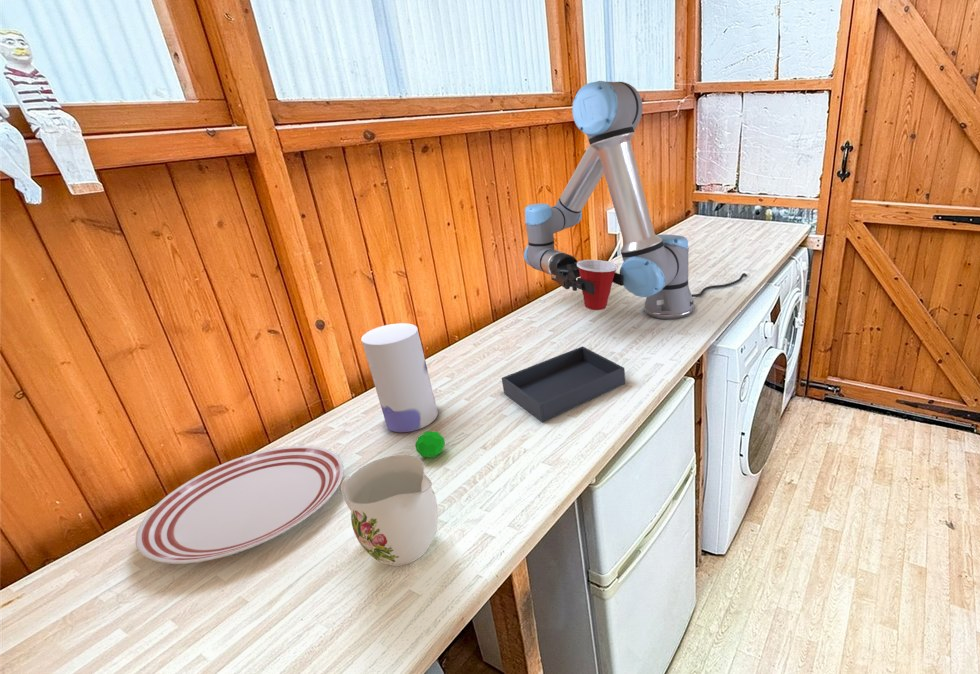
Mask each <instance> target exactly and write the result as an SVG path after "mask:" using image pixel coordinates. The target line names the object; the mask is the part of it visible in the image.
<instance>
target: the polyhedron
mask: <svg viewBox="0 0 980 674" xmlns="http://www.w3.org/2000/svg"><path fill="white" fill-rule="evenodd" d="M445 444H446V441H445V437H443V436H442V434H440V432H438V431H432V430H431V431H430V430H427V431H424V432H423V433H422V434H420V435H419V436H418V437H417V438H416V442H415V445H414V447H415V450H416V452H417V454H419V455H420V456H421V457H422V458H430V459H431V458H432V459H433V458H435V457H436V456H437V455H439V454H441V453H442V451H443V449H444V447H445Z"/></svg>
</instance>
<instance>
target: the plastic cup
mask: <svg viewBox="0 0 980 674" xmlns="http://www.w3.org/2000/svg"><path fill="white" fill-rule="evenodd" d="M577 267H578V269H579V272H580V277H579V278H582V279H583V280H586V281H589V282H591V283H594V288H595V294H593V295H592V294H590V293H588V292H585V291H583V290H582V291H581V292H582V297H583V305H584V307H585V309H588V310H591V311H603V310H605V309H606V308H607V305H608V302H609V297H610V293H611V290H612V285H613V278H614V275H615V273H617V270H618V269H619V265H618V264H617V263H615V262H612V261H608V260H604V259H603V260H602V259H583V260H578V262H577Z"/></svg>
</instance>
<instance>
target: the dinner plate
mask: <svg viewBox="0 0 980 674" xmlns="http://www.w3.org/2000/svg"><path fill="white" fill-rule="evenodd" d="M344 467H345V466H344V463H343V460H342V459H341V458H340V456H339V455H338V454H336V453H335V452H334V451H332V450H330V449H327V448H325V447H320V446H313V445H289V446H280V447H274V448H270V449H264V450H261V451H256V452H253V453H250V454H247V455H243V456H241V457H237V458H235V459H232V460H229V461H227V462H224V463H222V464H219V465H217V466H215V467H212V468H211V469H208V470H206V471H205V472H202V473H200V474H199V475H197V476H194V477H193V478H191V479H190V480H188V481H186V482H185V483H183V484H181V485H179V486H178V487H177V488H176V489H174V490H172V491H171V492H169V494H167V495H166V496H165V497H164V498H162V499H161V500H160V501H159V502H157V503H156V504H155V505H154V506H153V507H152V508H151V510H150V511H149V512H148V513H147V514H145V515H146V516H145V517H144V518H143V519H142V521H141V523H140V524H139V526H138V528H137V531H136V535H135V545H136V548H137V550H138V552H139V553H140V554H141V555H142V556H143V557H145V558H147V559H148V560H151V561H153V562H157V563H162V564H169V565H183V564H185V565H186V564H196V563H201V562H208V561H213V560H217V559H221V558H225V557H228V556H232V555H235V554H239V553H241V552H243V551H247V550H249V549H252V548H254V547H257V546H260V545H262V544H263V543H266V542H268V541H271V540H273V539H274V538H276V537H278V536H280V535H282V534H284V533H286V532H287V531H289V530H291V529H292V528H294V527H295V526H297V525H299V524H300V523H301V522H303V521H305V520H306V519H307V518H308V517H310V516H312V515H313V514H314V513H316V512H317V511H318V510H319V509H320V508H321V507H323V506H324V505H325V504H326V503H327V502H328V501H329V500H330V499H331V498H332V496H333V495H334V494H335V492H336V491H337V489H338V488H339V486H340V485H341V483H342V481H343V477H344V472H345V468H344Z"/></svg>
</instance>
